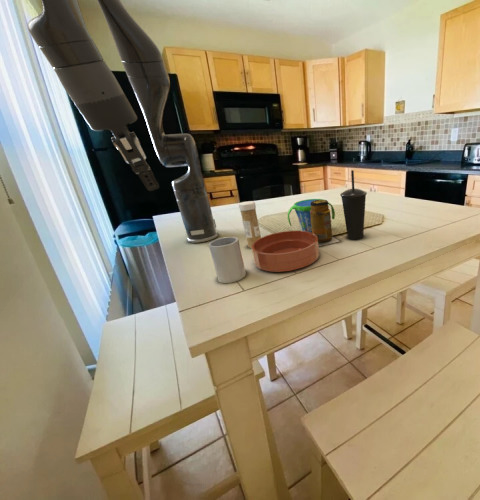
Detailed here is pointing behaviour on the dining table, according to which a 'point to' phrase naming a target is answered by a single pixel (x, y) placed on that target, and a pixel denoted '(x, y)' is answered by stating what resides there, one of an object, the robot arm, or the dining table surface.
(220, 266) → the white cup
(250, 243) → the sprinkles bottle
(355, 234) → the drinking cup
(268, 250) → the bowl
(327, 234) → the condiment
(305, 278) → the dining table surface
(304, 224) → the snack cup
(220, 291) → the dining table surface
